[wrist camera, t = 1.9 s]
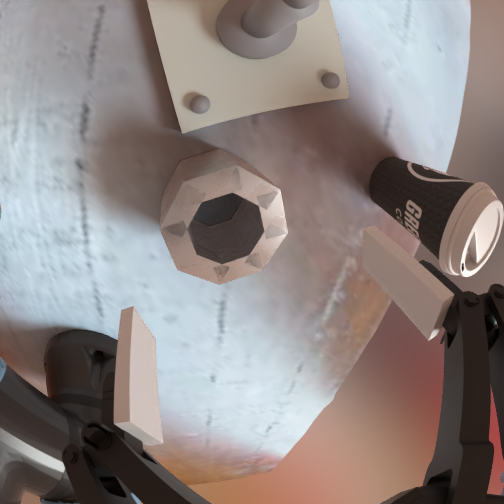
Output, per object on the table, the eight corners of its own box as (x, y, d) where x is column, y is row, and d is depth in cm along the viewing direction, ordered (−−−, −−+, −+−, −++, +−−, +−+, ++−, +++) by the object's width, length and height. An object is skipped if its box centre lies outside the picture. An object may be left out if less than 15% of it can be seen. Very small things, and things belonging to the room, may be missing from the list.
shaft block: (181, 131, 22) (190, 157, 12) (142, -19, 13) (129, -89, 3) (341, 97, 24) (432, 111, 14) (309, -36, 15) (383, -79, 5)
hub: (183, 251, 28) (189, 294, 22) (152, 170, 23) (146, 195, 17) (266, 224, 29) (291, 259, 23) (247, 140, 24) (273, 155, 18)
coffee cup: (353, 157, 28) (463, 212, 15) (411, 137, 28) (512, 179, 16) (363, 228, 33) (446, 301, 21) (415, 202, 34) (496, 258, 21)
